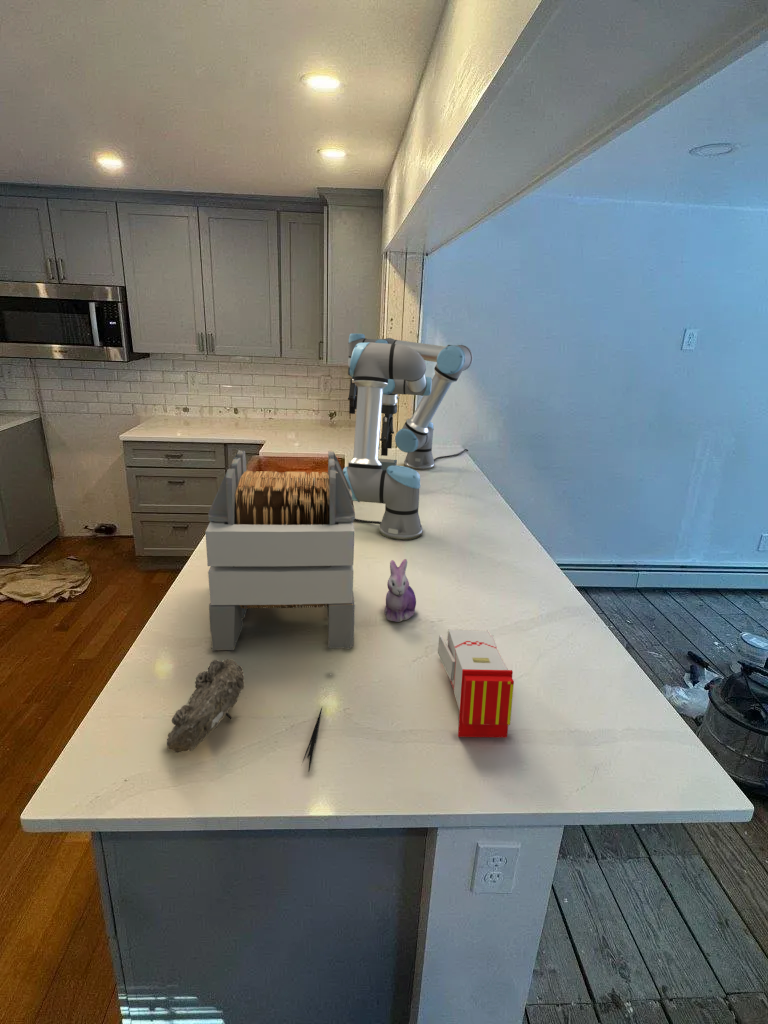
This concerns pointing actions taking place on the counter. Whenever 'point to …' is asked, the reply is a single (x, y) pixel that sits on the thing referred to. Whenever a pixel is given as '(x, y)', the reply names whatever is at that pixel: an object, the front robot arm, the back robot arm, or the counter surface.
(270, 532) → the record crate
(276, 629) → the counter surface
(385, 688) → the counter surface
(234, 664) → the fossil
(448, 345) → the back robot arm
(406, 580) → the figurine
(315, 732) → the feather
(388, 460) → the brick
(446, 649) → the toy
